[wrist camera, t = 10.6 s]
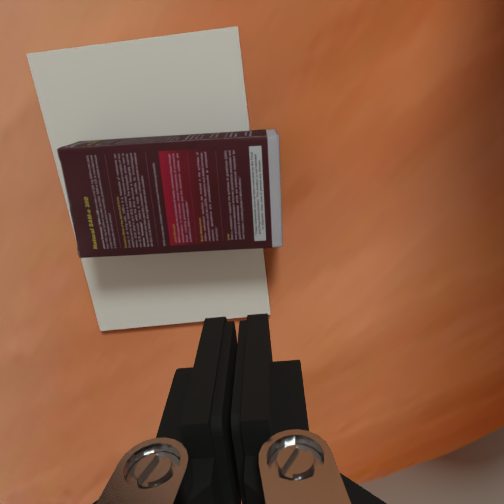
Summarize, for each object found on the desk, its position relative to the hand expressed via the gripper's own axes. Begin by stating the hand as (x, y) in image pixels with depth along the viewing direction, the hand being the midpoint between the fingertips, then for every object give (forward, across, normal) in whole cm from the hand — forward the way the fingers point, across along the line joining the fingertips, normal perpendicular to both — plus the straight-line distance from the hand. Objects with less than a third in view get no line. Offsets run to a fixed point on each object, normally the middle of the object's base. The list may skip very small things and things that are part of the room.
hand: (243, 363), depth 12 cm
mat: (+27, +8, +2) cm, 28 cm away
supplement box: (+24, -2, +1) cm, 25 cm away
